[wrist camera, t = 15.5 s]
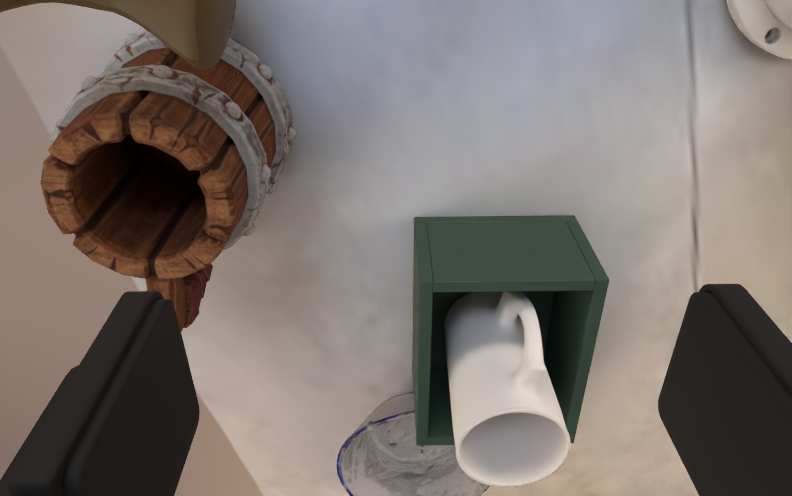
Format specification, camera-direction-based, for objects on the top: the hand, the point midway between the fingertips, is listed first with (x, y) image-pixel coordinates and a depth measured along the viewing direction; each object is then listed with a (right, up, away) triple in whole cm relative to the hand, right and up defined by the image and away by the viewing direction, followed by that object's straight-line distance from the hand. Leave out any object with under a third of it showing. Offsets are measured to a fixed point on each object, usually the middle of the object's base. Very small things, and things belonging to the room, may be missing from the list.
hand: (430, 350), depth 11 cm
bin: (+6, -2, +35) cm, 35 cm away
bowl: (+1, -13, +42) cm, 44 cm away
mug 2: (+6, -2, +34) cm, 35 cm away
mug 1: (-13, +9, +28) cm, 32 cm away
